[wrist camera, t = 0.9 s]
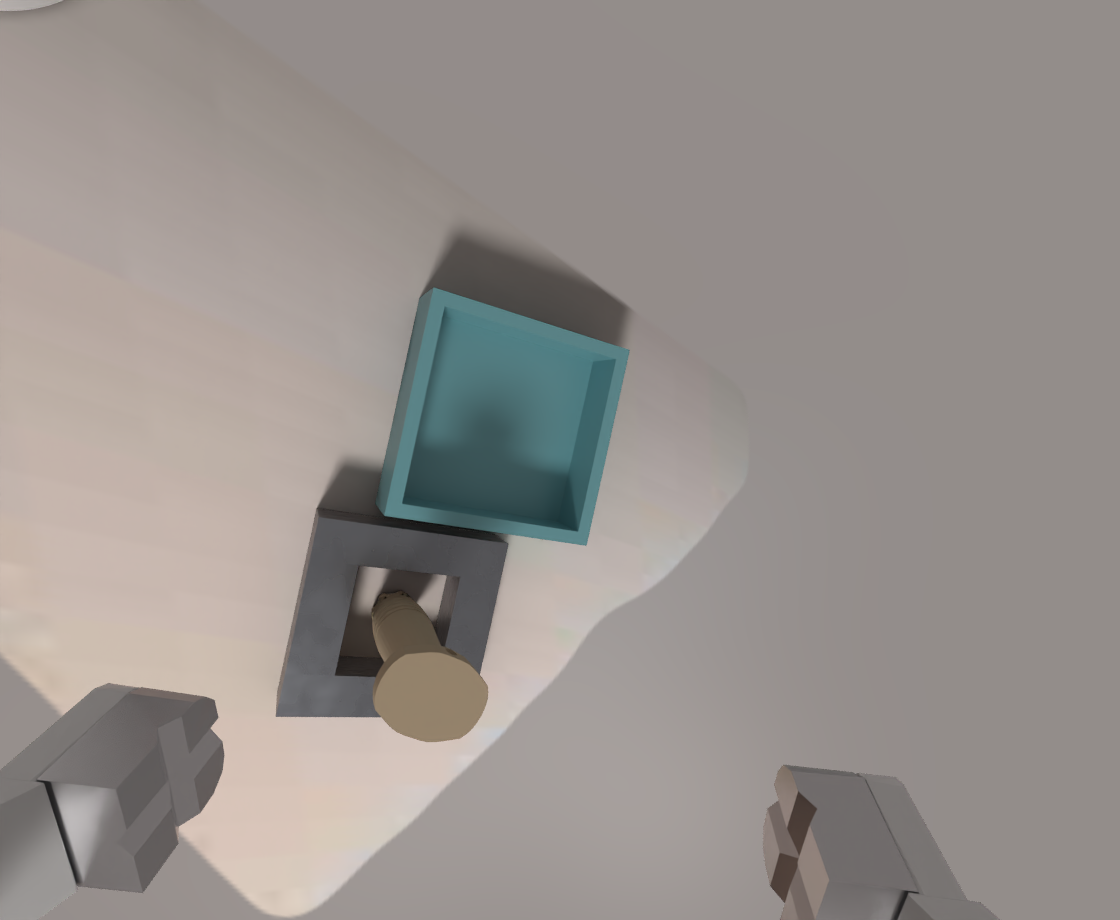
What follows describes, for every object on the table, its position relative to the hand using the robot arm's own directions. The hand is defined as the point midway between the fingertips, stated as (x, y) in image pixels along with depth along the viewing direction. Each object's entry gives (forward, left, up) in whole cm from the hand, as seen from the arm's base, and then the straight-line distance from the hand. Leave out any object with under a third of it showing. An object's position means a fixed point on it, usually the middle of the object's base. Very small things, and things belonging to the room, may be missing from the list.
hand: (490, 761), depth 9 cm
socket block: (+10, +7, -39) cm, 41 cm away
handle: (+10, +7, -39) cm, 41 cm away
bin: (-6, +12, -39) cm, 41 cm away
